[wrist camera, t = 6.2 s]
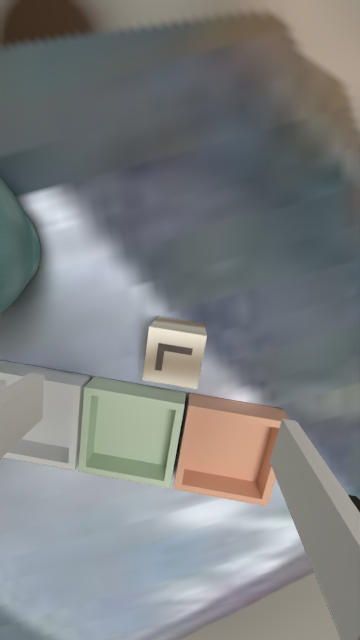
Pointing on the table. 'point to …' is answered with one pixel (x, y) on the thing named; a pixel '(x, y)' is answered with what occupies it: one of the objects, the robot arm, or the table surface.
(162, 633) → the table surface
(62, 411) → the box grey
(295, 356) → the table surface
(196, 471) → the box terracotta
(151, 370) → the letter cube
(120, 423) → the box sage
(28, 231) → the flower pot
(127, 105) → the table surface
